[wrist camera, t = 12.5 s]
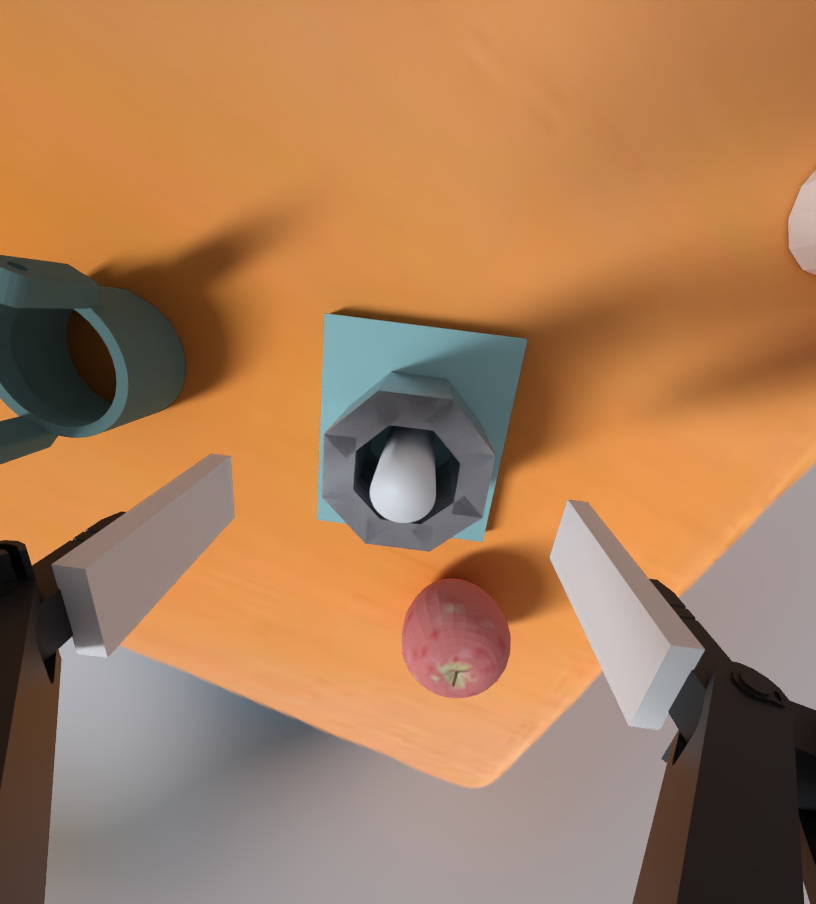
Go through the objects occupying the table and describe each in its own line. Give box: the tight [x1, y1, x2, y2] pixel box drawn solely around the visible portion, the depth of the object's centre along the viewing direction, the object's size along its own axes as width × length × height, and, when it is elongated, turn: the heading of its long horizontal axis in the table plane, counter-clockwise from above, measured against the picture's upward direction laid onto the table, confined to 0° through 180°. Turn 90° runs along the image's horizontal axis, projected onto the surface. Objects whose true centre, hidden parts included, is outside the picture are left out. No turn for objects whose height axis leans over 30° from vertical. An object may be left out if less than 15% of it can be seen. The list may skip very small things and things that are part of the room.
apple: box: [402, 578, 510, 698], centre depth 26 cm, size 7×7×8 cm
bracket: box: [0, 255, 186, 464], centre depth 21 cm, size 9×9×9 cm
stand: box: [317, 313, 528, 542], centre depth 21 cm, size 14×12×9 cm
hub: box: [322, 372, 496, 551], centre depth 22 cm, size 8×8×6 cm
